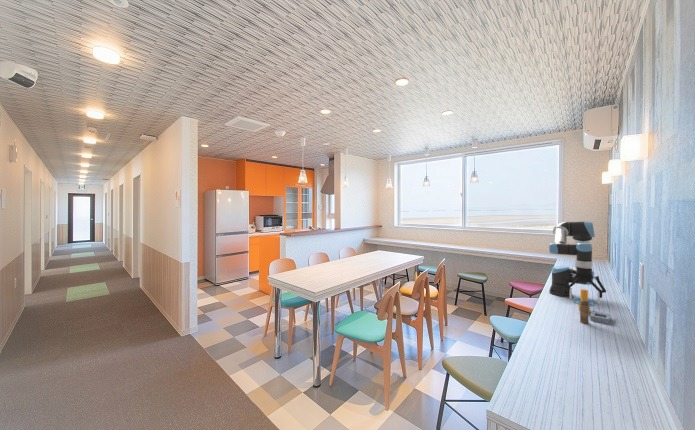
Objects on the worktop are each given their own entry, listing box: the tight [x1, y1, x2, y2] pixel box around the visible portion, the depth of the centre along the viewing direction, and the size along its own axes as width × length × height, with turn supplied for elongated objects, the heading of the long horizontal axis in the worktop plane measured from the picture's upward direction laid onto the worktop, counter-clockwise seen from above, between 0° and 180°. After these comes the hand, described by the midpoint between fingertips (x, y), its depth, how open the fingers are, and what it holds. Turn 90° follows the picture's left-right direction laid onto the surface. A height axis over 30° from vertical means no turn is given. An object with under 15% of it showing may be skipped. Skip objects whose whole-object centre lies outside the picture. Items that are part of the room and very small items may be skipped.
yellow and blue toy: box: [572, 288, 596, 313], centre depth 194 cm, size 12×10×15 cm
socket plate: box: [590, 310, 611, 325], centre depth 179 cm, size 12×9×3 cm
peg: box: [579, 300, 590, 325], centre depth 175 cm, size 4×4×14 cm
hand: (584, 300), depth 174 cm, fingers open, 13 cm apart
